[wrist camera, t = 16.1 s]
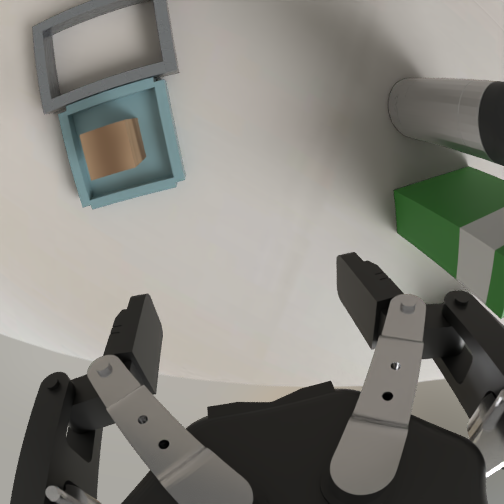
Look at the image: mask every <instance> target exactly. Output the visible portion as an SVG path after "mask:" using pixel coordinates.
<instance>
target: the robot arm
mask: <svg viewBox="0 0 504 504" xmlns="http://www.w3.org/2000/svg"><path fill="white" fill-rule="evenodd" d="M388 108H389V114H390V117H391V120H392V122H393V124H394V126H395V127H396V128H397V130H398V131H399V132H400V133H402V134H403V135H405V136H407V137H410V138H414V139H418V140H422V141H426V142H429V143H433V144H437V145H440V146H444V147H447V148H451V149H454V150H457V151H460V152H464V153H467V154H470V155H473V156H476V157H479V158H482V159H485V160H488V161H491V162H494V163H497V164H500V165H502V166H504V82H500V81H489V80H474V79H454V78H406V79H402V80H401V81H399V82H398V83H396V84H395V85H394V87H393V89H392V90H391V93H390V96H389V101H388ZM337 291H338V295H339V298H340V300H341V302H342V303H343V305H344V306H345V308H346V310H347V311H348V313H349V314H350V316H351V318H352V319H353V321H354V322H355V324H356V326H357V327H358V329H359V330H360V332H361V334H362V335H363V337H364V338H365V340H366V342H367V343H368V345H369V347H370V348H371V350H372V349H375V352H374V355H373V358H372V361H371V364H370V367H369V370H368V373H367V376H366V379H365V382H364V385H363V388H362V391H361V392H360V391H356V390H351V389H334V387H333V384H332V382H331V381H328V382H324V383H321V384H317V385H313V386H309V387H305V388H302V389H299V390H297V391H295V392H293V393H291V394H289V395H286V396H284V397H282V398H280V399H278V400H275V401H273V402H235V403H229V404H223V405H217V406H210V407H207V408H208V416H206V417H203V418H201V419H199V420H197V421H196V422H194V423H192V424H191V425H190V426H188V427H187V428H186V429H185V428H184V427H183V426H182V425H181V424H180V423H179V422H178V421H177V420H176V419H175V418H174V417H173V416H172V415H171V414H170V413H169V411H168V410H167V409H166V408H165V407H164V406H163V405H162V404H161V403H160V402H159V401H158V400H157V399H156V398H155V397H154V396H153V394H156V388H157V379H158V370H159V362H160V353H161V345H162V338H163V331H162V326H161V322H160V320H159V317H158V315H157V312H156V310H155V307H154V305H153V302H152V299H151V297H150V295H149V294H143V295H137V296H132V297H131V298H130V301H129V304H128V307H127V309H124V310H122V311H121V312H120V313H119V314H118V316H117V317H116V318H115V321H114V324H113V328H112V330H111V335H110V336H109V339H108V342H107V345H106V348H105V351H104V355H103V356H102V357H99V358H97V359H96V360H95V361H93V362H92V363H91V365H90V366H89V368H88V371H87V374H86V375H84V376H81V377H79V378H75V379H73V380H70V379H69V377H68V376H67V375H66V374H65V373H63V372H56V373H53V374H51V375H49V376H48V377H46V378H45V379H44V380H43V382H42V383H41V385H40V388H39V391H38V394H37V397H36V400H35V403H34V406H33V409H32V412H31V416H30V419H29V422H28V426H27V430H26V433H25V437H24V441H23V444H22V448H21V452H20V456H19V461H18V465H17V470H16V474H15V480H14V485H13V490H12V497H11V502H10V504H101V503H100V502H99V501H98V500H97V484H98V469H99V458H100V449H101V439H102V431H103V427H105V426H108V425H111V424H114V423H116V425H117V426H118V428H119V429H120V430H121V432H122V433H123V435H124V436H125V438H126V439H127V440H128V442H129V443H130V444H131V446H132V447H133V448H134V450H135V451H136V452H137V454H138V455H139V456H140V458H141V459H142V460H143V461H144V463H145V464H146V465H147V466H148V468H149V469H150V471H149V472H148V473H147V475H146V476H145V477H144V478H143V480H142V481H141V482H140V483H139V484H138V485H137V486H136V487H135V489H134V490H133V491H132V492H131V493H130V494H129V496H128V497H127V498H126V499H125V500H124V501H123V502H122V503H121V504H488V501H487V495H486V477H488V476H489V475H491V474H492V473H494V472H496V471H497V470H499V469H504V329H503V327H502V326H501V325H500V324H499V323H498V322H497V321H496V320H495V319H494V318H493V316H492V315H491V314H490V313H489V312H488V311H487V310H486V309H485V308H484V307H483V306H482V305H481V304H480V303H479V302H478V301H477V300H476V299H475V298H474V297H473V296H472V295H471V294H469V293H467V292H464V291H452V292H449V293H448V294H447V295H446V296H445V299H444V303H443V304H428V305H426V304H425V302H424V301H423V300H422V299H421V298H420V297H418V296H415V295H411V294H404V293H403V292H402V291H401V290H400V289H399V288H398V287H397V286H396V285H395V283H394V282H393V281H392V280H391V279H390V278H388V276H387V275H386V274H385V273H384V272H383V271H382V270H381V269H380V267H379V266H378V265H376V264H374V263H372V262H370V261H363V260H362V259H361V258H360V257H359V256H358V255H357V254H356V253H355V252H352V253H347V254H343V255H338V256H337ZM465 343H466V345H467V346H468V347H469V348H470V350H471V352H472V354H471V353H470V352H469V350H468V349H467V348H466V347H465V345H464V344H465ZM430 358H433V360H434V361H435V363H436V365H437V366H438V368H439V369H440V371H441V372H442V374H443V376H444V377H445V379H446V380H447V382H448V383H449V385H450V387H451V388H452V390H453V391H454V393H455V395H456V396H457V398H458V400H459V402H460V403H461V405H462V406H463V408H464V409H465V412H466V413H467V415H468V417H469V418H470V420H469V422H468V425H467V431H468V435H469V439H467V438H465V437H463V436H461V435H458V434H456V433H453V432H451V431H448V430H446V429H443V428H441V427H439V426H436V425H434V424H432V423H429V422H427V421H425V420H422V419H420V418H418V417H416V416H413V415H411V412H412V407H413V402H414V398H415V393H416V388H417V383H418V377H419V371H420V365H421V359H430ZM68 426H69V427H68ZM67 427H68V432H67ZM66 432H67V437H66Z"/></svg>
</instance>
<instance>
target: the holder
mask: <svg viewBox="0 0 504 504" xmlns="http://www.w3.org/2000/svg"><path fill="white" fill-rule="evenodd" d="M145 1H149V0H91V1H89V2H86V3H83V4H81V5H78V6H76V7H74V8H71V9H69V10H67V11H64V12H62V13H60V14H58V15H55V16H53V17H51V18H49V19H47V20H45V21H43V22H41V23H39V24H37V25H35V26H33V27H32V28H33V42H34V52H35V61H36V69H37V76H38V83H39V89H40V95H41V101H42V107H43V112H44V114H50V113H55V112H58V111H60V110H63V109H65V108H66V106H68V105H70V104H73V103H75V102H78V101H80V100H83V99H86V98H88V97H91V96H94V95H97V94H100V93H102V92H105V91H108V90H111V89H114V88H118V87H121V86H124V85H127V84H131V83H134V82H137V81H141V80H145V79H148V78H152V77H153V78H154V79H156V78H160V77H164V76H168V75H172V74H176V73H179V69H178V63H177V58H176V52H175V46H174V40H173V35H172V29H171V23H170V16H169V10H168V4H167V0H153V2H154V8H155V15H156V21H157V28H158V34H159V40H160V46H161V52H162V57H163V62H159V63H155V64H151V65H147V66H144V67H140V68H137V69H133V70H130V71H126V72H123V73H120V74H117V75H114V76H111V77H108V78H105V79H102V80H99V81H96V82H93V83H91V84H88V85H85V86H83V87H80V88H77V89H75V90H72V91H70V92H67V93H65V94H63V95H60V91H59V85H58V79H57V72H56V65H55V58H54V49H53V40H52V35H54V34H56V33H58V32H60V31H62V30H65V29H67V28H69V27H72V26H74V25H76V24H79V23H81V22H84V21H86V20H89V19H92V18H94V17H97V16H100V15H103V14H106V13H108V12H111V11H115V10H118V9H121V8H124V7H127V6H131V5H134V4H138V3H141V2H145Z"/></svg>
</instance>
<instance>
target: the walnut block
mask: <svg viewBox="0 0 504 504" xmlns="http://www.w3.org/2000/svg"><path fill="white" fill-rule="evenodd" d="M80 140H81V144H82V148H83V152H84V156H85V159H86V163H87V167H88V171H89V174H90V178H91V181H92V180H95V179H98V178H102V177H105V176H108V175H111V174H115V173H118V172H121V171H125V170H128V169H132V168H135V167H137V166H138V165H139V164H140V163H141V162H142V161H143V160H144V159H145V158H146V153H145V149H144V145H143V140H142V136H141V132H140V127H139V123H138V118H132V119H126V120H122V121H119V122H116V123H113V124H109V125H106V126H103V127H100V128H97V129H95V130H92V131H89V132H86V133H83V134H81V135H80Z"/></svg>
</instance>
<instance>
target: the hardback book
mask: <svg viewBox="0 0 504 504" xmlns="http://www.w3.org/2000/svg"><path fill="white" fill-rule="evenodd" d="M394 199H395V210H396V221H397V233H398V234H399V235H401V236H402V237H403V238H405V239H406V240H407V241H409V242H410V243H411V244H413V245H414V246H415V247H417V248H418V249H419V250H420V251H422V252H423V253H424V254H426V255H427V256H428V257H429V258H431V259H432V260H433V261H434V262H436V263H437V264H438V265H439V266H441V267H442V268H443V269H444V270H446V271H447V272H448V273H449V274H450V275H452V276H453V277H454V278H455V279H456V280H458V281H459V282H460V283H461V284H462V285H463V286H465V287H466V288H467V289H468V290H469V291H470V292H472V293H473V294H474V295H475V296H476V297H477V298H478V299H480V300H481V301H482V302H483V303H484V304H485V305H486V306H487V307H488V308H490V309H491V310H492V311H493V312H494V313H495V314H496V315H497V316H498V317H499V318H500V319H502V318H503V317H504V180H502V179H500V178H497V177H495V176H492V175H490V174H487V173H485V172H482V171H480V170H477V169H474V168H472V167H469V166H468V167H465V168H462V169H459V170H456V171H452V172H449V173H446V174H443V175H440V176H437V177H433V178H430V179H427V180H424V181H421V182H418V183H415V184H412V185H408V186H405V187H402V188H399V189H396V190H394Z"/></svg>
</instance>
